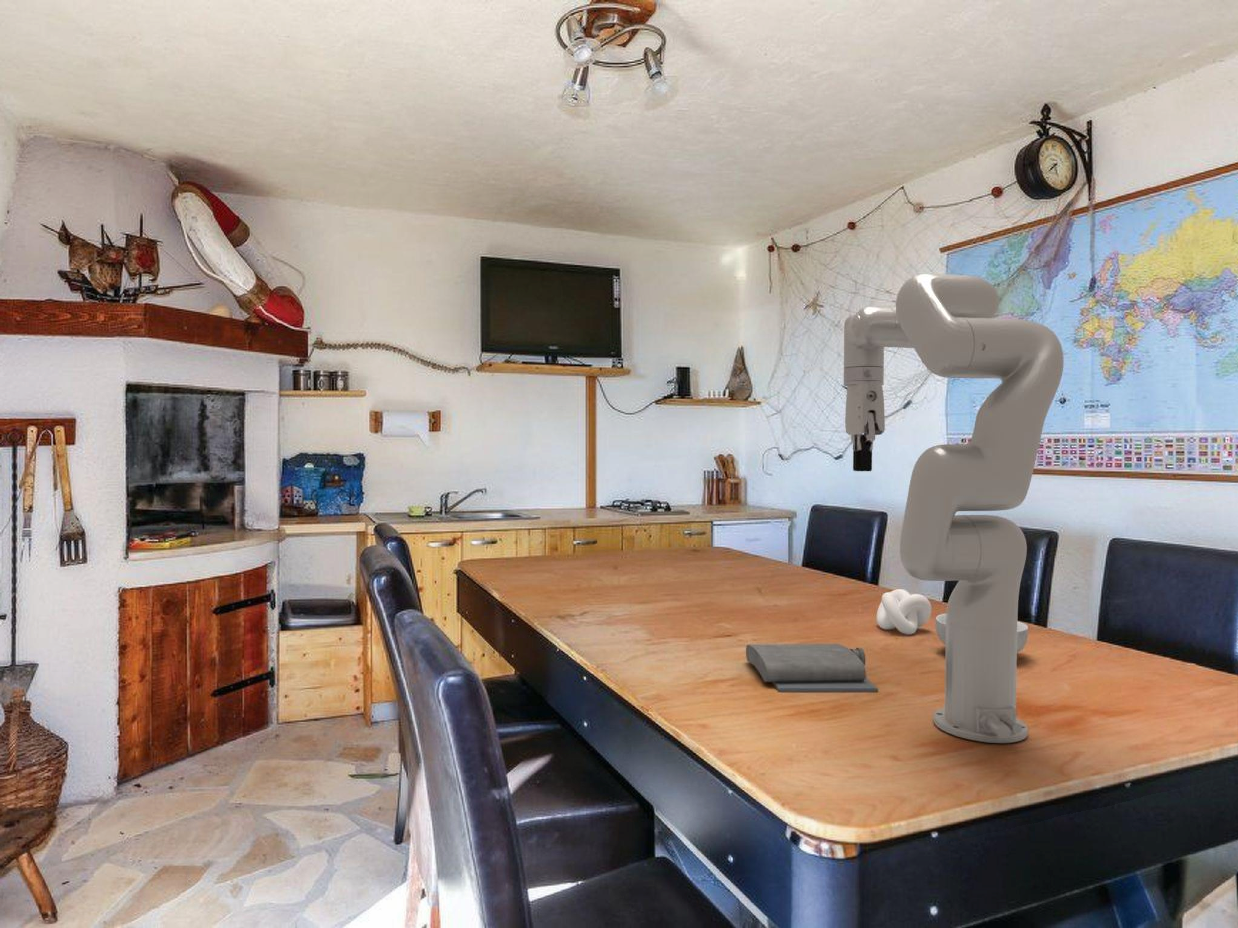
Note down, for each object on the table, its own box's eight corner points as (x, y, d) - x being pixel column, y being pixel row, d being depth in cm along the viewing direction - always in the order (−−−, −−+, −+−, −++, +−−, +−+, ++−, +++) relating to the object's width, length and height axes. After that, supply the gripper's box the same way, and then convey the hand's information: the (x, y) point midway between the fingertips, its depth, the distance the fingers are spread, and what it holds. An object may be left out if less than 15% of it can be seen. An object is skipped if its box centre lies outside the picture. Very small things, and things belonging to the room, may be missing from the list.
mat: (878, 691, 130) (878, 688, 130) (778, 691, 129) (778, 688, 129) (841, 659, 150) (841, 656, 150) (755, 659, 149) (755, 656, 149)
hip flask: (766, 684, 131) (879, 682, 133) (766, 660, 131) (880, 659, 133) (745, 659, 147) (846, 657, 149) (746, 638, 147) (847, 637, 148)
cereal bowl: (974, 670, 143) (975, 632, 143) (917, 648, 159) (917, 614, 159) (1048, 664, 147) (1048, 627, 147) (985, 643, 163) (985, 610, 163)
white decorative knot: (922, 625, 179) (923, 587, 179) (938, 638, 167) (939, 597, 167) (873, 624, 180) (873, 586, 180) (885, 636, 169) (886, 596, 168)
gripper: (896, 374, 142) (895, 472, 143) (869, 381, 157) (868, 470, 157) (857, 374, 142) (855, 472, 142) (833, 381, 157) (832, 470, 157)
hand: (862, 470), depth 150 cm, fingers closed
